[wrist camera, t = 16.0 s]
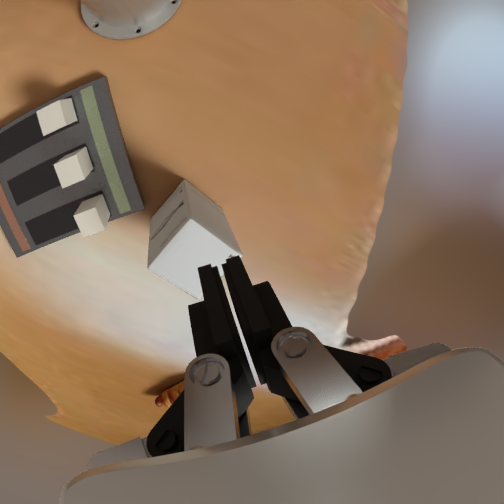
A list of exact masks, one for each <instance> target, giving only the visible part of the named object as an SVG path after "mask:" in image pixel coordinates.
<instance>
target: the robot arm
mask: <svg viewBox="0 0 504 504" xmlns="http://www.w3.org/2000/svg"><path fill="white" fill-rule="evenodd" d="M80 1H81V14H82V17H83V20H84V21H85V23H86V25H87V26H88V27H89V28H90V29H91V30H92V31H93V32H95V33H96V34H98V35H100V36H102V37H105V38H109V39H113V40H127V39H134V38H138V37H142V36H144V35H147V34H149V33H151V32H153V31H155V30H156V29H158V28H160V27H161V26H162V25H164V24H165V23H166V22H167V21H168V20H169V19H170V18H171V17H172V16H173V15H174V14H175V12H176V10H177V9H178V7H179V5H180V3H181V0H80ZM173 1H175V2H176V3H175V4H172V2H173ZM97 24H99V26H98V27H97V28H96V27H95V26H96V25H97ZM137 30H141V31H140V33H137ZM221 265H222V268H223V272H224V275H225V279H226V282H227V285H228V289H229V292H230V295H231V299H232V302H233V305H234V309H235V312H236V315H237V318H238V321H239V324H240V327H241V330H242V333H243V336H244V338H245V341H246V344H247V347H248V350H249V353H250V356H251V358H252V361H253V364H254V367H255V370H256V372H257V375H258V378H259V381H260V383H261V385H262V384H265V383H267V386H268V389H269V390H270V391H271V393H274V394H277V395H280V396H282V398H283V400H284V402H285V403H286V405H287V407H288V408H289V410H290V411H291V413H292V414H293V416H294V417H295V419H296V420H295V421H293V422H290V423H287V424H284V425H281V426H278V427H275V428H272V429H269V430H266V431H263V432H260V433H256V434H253V435H252V431H251V423H250V416H249V410H248V406H249V405H250V403H251V402H252V400H253V399H254V397H253V396H254V395H253V392H252V389H251V388H253V387H256V383H255V380H254V378H253V375H252V372H251V369H250V366H249V363H248V360H247V357H246V354H245V351H244V348H243V345H242V342H241V339H240V336H239V333H238V330H237V327H236V324H235V320H234V317H233V314H232V311H231V308H230V305H229V302H228V299H227V296H226V293H225V289H224V286H223V283H222V280H221V277H220V274H219V270H218V267H217V266H214V267H212V266H211V264H208V265H205V266H201V267H198V273H199V278H200V283H201V288H202V292H203V297H204V301H201V302H198V303H195V304H191V305H188V309H189V316H190V322H191V328H192V334H193V340H194V345H195V351H196V356H197V358H195V359H193V360H192V361H191V362H190V363H189V365H188V366H187V368H186V371H185V387H184V390H183V391H182V392H181V394H180V395H179V396H178V397H177V399H176V400H175V401H174V402H173V404H172V405H171V406H170V408H169V409H168V410H167V411H166V413H165V414H164V415H163V416H162V418H161V419H160V420H159V421H158V423H157V424H156V425H155V426H154V427H153V429H152V430H151V431H150V433H149V435H148V436H147V437H145V438H140V437H138V438H135V439H133V440H130V441H128V442H125V443H123V444H120V445H117V446H114V447H112V448H109V449H106V450H103V451H101V452H98V453H96V454H94V455H93V456H92V457H91V458H90V460H89V462H88V471H86V472H83V473H81V474H80V475H78V476H76V477H74V478H73V479H72V480H70V481H69V482H68V483H67V484H66V485H65V486H64V488H63V490H62V492H61V496H60V501H59V504H504V362H503V361H502V360H501V359H500V358H499V357H497V356H496V355H495V354H494V353H492V352H490V351H489V350H487V349H484V348H479V347H467V348H460V349H455V350H450V348H449V347H448V346H446V345H444V344H441V343H432V344H429V345H426V346H422V347H419V348H416V349H412V350H409V351H405V352H401V353H397V354H394V355H390V356H388V359H384V360H381V359H378V358H375V357H370V356H366V355H362V354H358V353H353V352H349V351H345V350H341V349H337V348H333V347H329V346H325V345H323V344H322V343H321V342H320V341H319V340H318V338H317V337H316V336H315V335H314V334H313V333H312V332H311V331H310V330H308V329H305V328H303V327H292V325H291V323H290V321H289V319H288V318H287V316H286V314H285V312H284V310H283V308H282V306H281V304H280V302H279V300H278V298H277V297H276V295H275V293H274V291H273V289H272V287H271V285H270V283H269V282H268V281H266V282H263V283H260V284H257V285H253V286H252V283H251V281H250V279H249V277H248V274H247V272H246V270H245V268H244V265H243V263H242V261H241V259H240V256H239V255H238V256H234V257H231V258H228V259H226V263H224V264H221Z"/></svg>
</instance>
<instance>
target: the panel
mask: <svg viewBox="0 0 504 504" xmlns="http://www.w3.org/2000/svg"><path fill="white" fill-rule="evenodd" d="M69 98H72V102H73V106H74V110H75V113H76V117H77V120H78V121H75V122H73V123H71V124H69V125H66V126H64V127H62V128H60V129H58V130H56V131H54V132H51V133H49V134H47V135H45V136H43V133H42V130H41V127H40V123H39V120H38V116H37V113H36V112H37V111H38V110H40V109H42V108H44V107H46V106H48V105H50V104H52V103H54V102H56V101H58V100H63V99H69ZM84 147H86V148H87V151H88V154H89V157H90V160H91V163H92V166H93V170H92V171H91V172H90V173H89V175H88V176H87V177H86V178H85V179H84V180H82V181H79V182H77V183H75V184H72V185H70V186H68V187H65V188H63V189H62V186H61V184H60V181H59V178H58V176H57V173H56V170H55V168H54V164H55V163H56V162H57V161H59V160H60V159H61V158H63V157H64V156H65V155H67V154H70V153H72V152H74V151H77V150H79V149H81V148H84ZM101 194H103V197H104V199H105V202H106V205H107V207H108V210H109V212H110V217H109V220H108V222H109V221H112V220H114V219H117V218H120V217H123V216H126V215H129V214H132V213H135V212H138V211H141V210H144V209H145V203H144V200H143V197H142V194H141V191H140V188H139V185H138V183H137V180H136V177H135V173H134V170H133V167H132V164H131V161H130V158H129V155H128V152H127V148H126V145H125V142H124V138H123V135H122V132H121V128H120V125H119V121H118V118H117V114H116V111H115V107H114V103H113V99H112V96H111V92H110V88H109V84H108V80H107V77H102V78H99V79H97V80H94V81H92V82H89V83H87V84H85V85H82V86H80V87H78V88H75V89H73V90H71V91H69V92H67V93H65V94H62V95H60V96H58V97H56V98H54V99H52V100H50V101H48V102H46V103H44V104H42V105H40V106H39V107H37V108H35V109H33V110H31V111H29V112H28V113H26V114H24V115H22V116H21V117H19V118H17V119H15V120H14V121H12V122H10V123H9V124H7V125H6V126H4V127H2V128H1V129H0V225H1V227H2V230H3V232H4V234H5V236H6V238H7V240H8V241H9V243H10V245H11V247H12V249H13V251H14V253H15V255H16V256H17V258H18V257H20V256H22V255H25V254H27V253H29V252H32V251H34V250H36V249H39V248H41V247H44V246H46V245H48V244H51V243H53V242H56V241H58V240H61V239H63V238H66V237H69V236H71V235H74V234H76V233H79V232H80V229H79V227H78V225H77V223H76V221H75V218H74V214H75V212H76V211H77V209H78V208H79V206H80V204H81V203H82V201H85V200H88V199H90V198H93V197H95V196H98V195H101Z"/></svg>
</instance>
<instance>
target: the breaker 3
mask: <svg viewBox="0 0 504 504" xmlns="http://www.w3.org/2000/svg"><path fill="white" fill-rule="evenodd" d="M109 217H110V212H109V210H108V207H107V205H106V202H105V199H104V197H103V194H101V195H98V196H95V197H93V198H90V199H88V200H85V201H82V203H81V204H80V206H79V208H78V209H77V211H76V212H75V214H74V218H75V221H76V223H77V225H78V227H79V229H80V232H81V234H82V236H83V238H84V237H87V236H89V235H92V234H95V233H98V232H100V231H103V230H105V228H106V225H107V222H108V220H109Z"/></svg>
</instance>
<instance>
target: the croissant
mask: <svg viewBox="0 0 504 504" xmlns="http://www.w3.org/2000/svg"><path fill="white" fill-rule="evenodd" d="M184 387H185V380H184V381H182V382H180V383H179V384H177V385H175V386H173V387H171V388H169V389H167V390H165V391H163V392H162V393H161V394H160V395H159V396H158V397H157V398H156V400H155V404H156V405H157V406H166V407H169V408H170V406H171V405H172V404H173V402H174V401H175V400H176V399H177V397H178V396H179V395H180V394H181V392H182V391H183V390H184Z"/></svg>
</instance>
